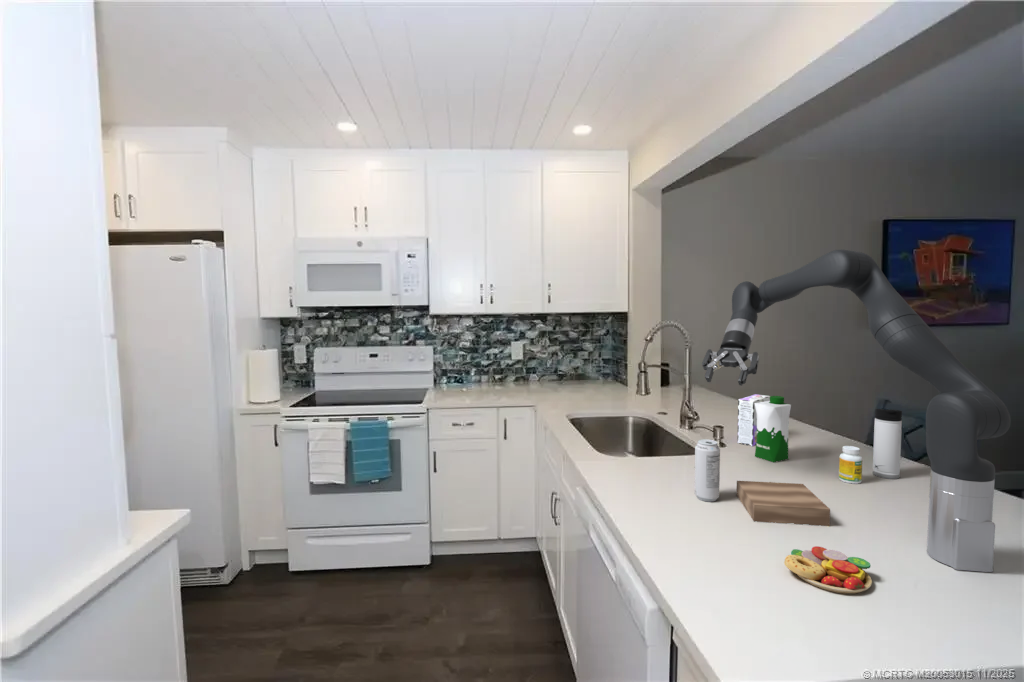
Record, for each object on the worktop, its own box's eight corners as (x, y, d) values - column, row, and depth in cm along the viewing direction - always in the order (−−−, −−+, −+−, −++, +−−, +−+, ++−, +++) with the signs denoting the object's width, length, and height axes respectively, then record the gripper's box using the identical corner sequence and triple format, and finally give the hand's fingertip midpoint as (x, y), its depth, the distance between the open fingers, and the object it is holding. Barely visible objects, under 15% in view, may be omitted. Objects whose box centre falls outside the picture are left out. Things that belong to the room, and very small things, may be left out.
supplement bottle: (844, 476, 144) (845, 443, 143) (865, 481, 140) (866, 448, 139) (835, 480, 141) (836, 447, 141) (856, 485, 137) (857, 451, 136)
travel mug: (874, 477, 143) (877, 409, 141) (870, 470, 148) (873, 404, 147) (901, 481, 140) (905, 411, 138) (896, 473, 146) (899, 406, 144)
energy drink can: (707, 492, 134) (708, 437, 133) (724, 500, 128) (725, 443, 127) (689, 495, 132) (690, 440, 130) (706, 504, 126) (706, 446, 125)
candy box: (754, 436, 188) (754, 393, 187) (770, 439, 184) (771, 395, 182) (736, 443, 179) (737, 398, 178) (752, 446, 175) (753, 400, 174)
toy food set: (777, 576, 93) (777, 560, 93) (799, 551, 102) (799, 536, 102) (863, 606, 83) (863, 588, 83) (878, 576, 93) (879, 559, 92)
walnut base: (829, 526, 113) (830, 509, 112) (753, 521, 116) (754, 504, 115) (802, 498, 128) (802, 483, 128) (736, 495, 131) (736, 480, 131)
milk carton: (793, 459, 160) (794, 398, 158) (773, 463, 156) (775, 401, 155) (768, 452, 168) (770, 394, 166) (749, 456, 164) (751, 396, 163)
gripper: (710, 328, 147) (694, 371, 139) (762, 330, 137) (748, 376, 130) (715, 344, 151) (701, 387, 143) (766, 347, 142) (754, 393, 134)
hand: (723, 382), depth 137 cm, fingers open, 8 cm apart
